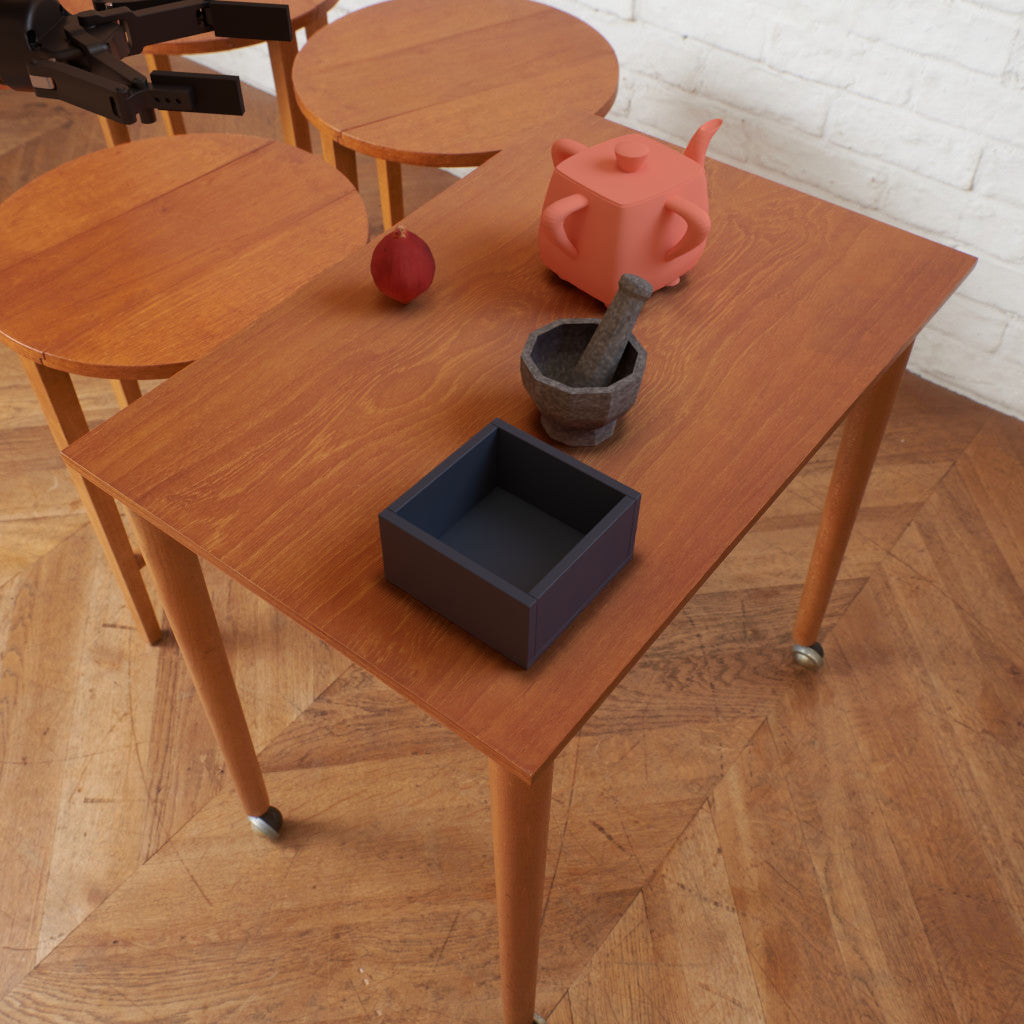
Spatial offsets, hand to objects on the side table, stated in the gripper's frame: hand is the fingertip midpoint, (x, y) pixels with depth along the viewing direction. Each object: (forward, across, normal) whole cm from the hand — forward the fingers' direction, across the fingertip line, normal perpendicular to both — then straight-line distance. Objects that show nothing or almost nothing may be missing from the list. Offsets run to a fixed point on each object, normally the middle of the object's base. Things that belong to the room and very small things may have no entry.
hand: (267, 57), depth 82 cm
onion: (+10, 0, -22) cm, 24 cm away
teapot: (+30, -8, -22) cm, 38 cm away
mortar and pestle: (+27, +14, -22) cm, 38 cm away
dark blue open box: (+23, +31, -22) cm, 45 cm away
